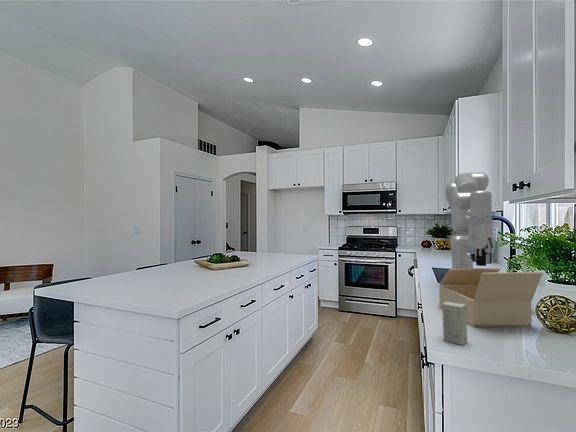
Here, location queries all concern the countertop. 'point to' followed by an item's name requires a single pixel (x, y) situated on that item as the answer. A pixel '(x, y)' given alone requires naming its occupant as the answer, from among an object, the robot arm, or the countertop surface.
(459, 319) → the skincare box
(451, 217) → the robot arm
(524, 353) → the countertop surface
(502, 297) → the outer flap
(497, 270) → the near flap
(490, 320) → the carton
